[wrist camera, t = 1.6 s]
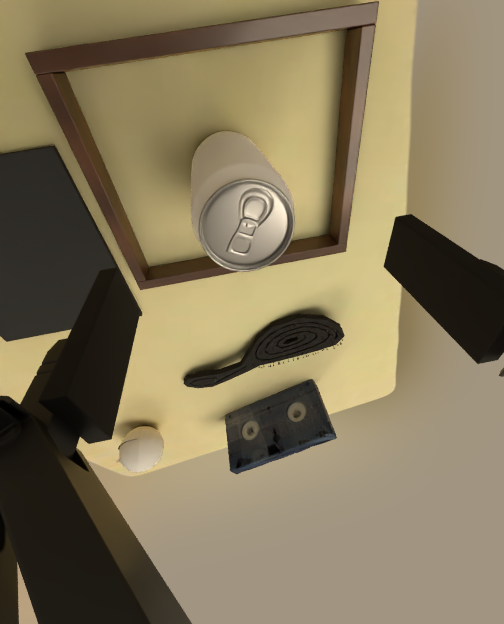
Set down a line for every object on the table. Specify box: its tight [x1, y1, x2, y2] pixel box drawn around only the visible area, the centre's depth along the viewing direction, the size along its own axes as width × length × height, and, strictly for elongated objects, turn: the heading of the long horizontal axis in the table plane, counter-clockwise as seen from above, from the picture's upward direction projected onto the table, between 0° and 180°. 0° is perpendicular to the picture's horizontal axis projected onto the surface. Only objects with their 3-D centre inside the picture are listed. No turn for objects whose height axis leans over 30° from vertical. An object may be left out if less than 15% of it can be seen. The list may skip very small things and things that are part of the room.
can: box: [191, 131, 295, 272], centre depth 20 cm, size 6×6×12 cm
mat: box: [0, 146, 142, 342], centre depth 27 cm, size 18×16×1 cm
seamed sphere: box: [116, 426, 164, 473], centre depth 49 cm, size 10×7×7 cm
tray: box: [25, 1, 379, 290], centre depth 24 cm, size 18×22×2 cm
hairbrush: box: [184, 314, 344, 388], centre depth 40 cm, size 8×4×25 cm
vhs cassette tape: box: [225, 379, 337, 474], centre depth 48 cm, size 18×3×10 cm, turn 115°
